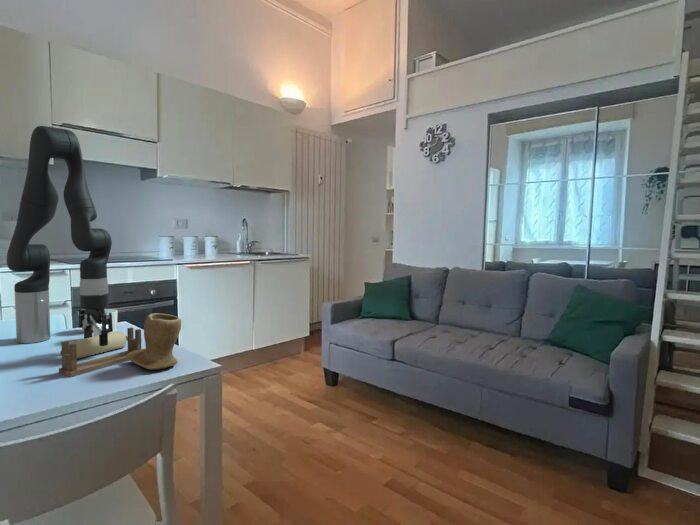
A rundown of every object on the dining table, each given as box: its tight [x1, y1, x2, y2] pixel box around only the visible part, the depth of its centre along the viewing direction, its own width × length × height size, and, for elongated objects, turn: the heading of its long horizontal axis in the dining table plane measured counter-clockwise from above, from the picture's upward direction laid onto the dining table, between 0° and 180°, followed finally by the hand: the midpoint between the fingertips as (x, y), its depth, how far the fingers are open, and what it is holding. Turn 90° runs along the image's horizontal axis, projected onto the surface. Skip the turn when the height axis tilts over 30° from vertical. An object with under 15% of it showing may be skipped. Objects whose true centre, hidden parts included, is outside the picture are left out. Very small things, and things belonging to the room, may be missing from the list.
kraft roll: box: [59, 330, 128, 360], centre depth 126 cm, size 6×20×6 cm, turn 152°
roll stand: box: [58, 327, 142, 378], centre depth 116 cm, size 6×21×8 cm, turn 152°
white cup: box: [92, 308, 119, 337], centre depth 142 cm, size 8×8×10 cm
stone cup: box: [126, 312, 182, 370], centre depth 117 cm, size 15×12×15 cm
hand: (95, 343), depth 125 cm, fingers open, 8 cm apart
